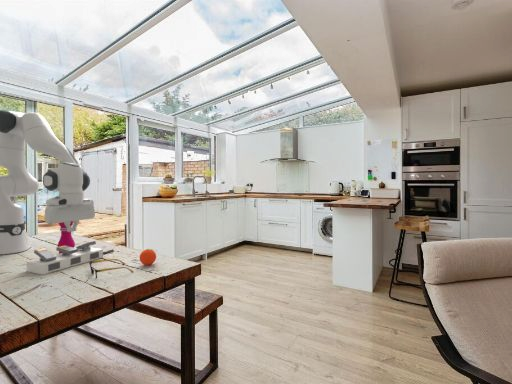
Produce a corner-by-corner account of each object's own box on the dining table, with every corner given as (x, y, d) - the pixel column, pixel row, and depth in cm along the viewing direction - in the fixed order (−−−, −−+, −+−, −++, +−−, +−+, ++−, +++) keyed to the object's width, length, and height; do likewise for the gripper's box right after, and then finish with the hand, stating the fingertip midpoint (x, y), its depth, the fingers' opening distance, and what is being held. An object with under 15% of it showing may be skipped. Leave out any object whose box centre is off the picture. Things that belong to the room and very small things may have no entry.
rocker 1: (33, 252, 117) (34, 249, 116) (43, 250, 120) (44, 247, 120) (46, 261, 114) (47, 258, 113) (56, 259, 117) (56, 256, 117)
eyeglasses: (87, 270, 117) (87, 261, 117) (124, 264, 126) (124, 255, 126) (93, 280, 106) (93, 270, 106) (133, 273, 115) (133, 263, 115)
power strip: (26, 271, 115) (26, 258, 114) (106, 250, 149) (106, 240, 148) (42, 274, 111) (42, 261, 110) (120, 252, 145) (120, 242, 145)
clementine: (154, 261, 131) (154, 245, 130) (161, 264, 126) (161, 248, 126) (137, 264, 125) (136, 248, 125) (143, 268, 120) (143, 251, 120)
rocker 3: (76, 249, 133) (76, 246, 133) (84, 248, 137) (83, 245, 137) (88, 245, 130) (87, 242, 130) (96, 243, 133) (95, 240, 134)
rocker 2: (56, 250, 125) (56, 246, 125) (65, 248, 128) (65, 245, 128) (69, 254, 122) (69, 250, 122) (77, 252, 125) (77, 248, 125)
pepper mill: (66, 256, 136) (65, 215, 135) (53, 255, 138) (53, 214, 137) (78, 252, 143) (78, 213, 142) (66, 252, 145) (65, 213, 144)
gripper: (88, 198, 134) (88, 227, 134) (41, 200, 115) (42, 234, 115) (98, 198, 131) (98, 228, 132) (51, 201, 112) (52, 236, 113)
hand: (71, 231), depth 123 cm, fingers closed
